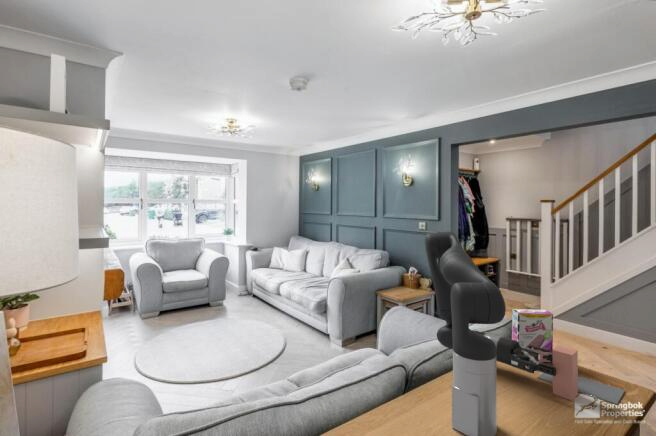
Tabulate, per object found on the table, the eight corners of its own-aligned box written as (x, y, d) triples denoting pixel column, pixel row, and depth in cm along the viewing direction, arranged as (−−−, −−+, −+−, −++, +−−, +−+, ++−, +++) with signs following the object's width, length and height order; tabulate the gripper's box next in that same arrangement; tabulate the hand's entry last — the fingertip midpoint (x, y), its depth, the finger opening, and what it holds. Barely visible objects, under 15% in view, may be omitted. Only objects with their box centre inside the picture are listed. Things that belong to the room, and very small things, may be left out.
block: (572, 400, 86) (572, 355, 86) (552, 393, 90) (552, 349, 89) (577, 394, 89) (577, 350, 89) (558, 388, 92) (558, 345, 92)
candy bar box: (518, 362, 109) (517, 312, 109) (511, 355, 114) (511, 308, 114) (554, 363, 108) (553, 313, 108) (545, 356, 113) (545, 308, 113)
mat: (616, 404, 84) (616, 403, 84) (537, 378, 98) (537, 377, 98) (625, 391, 90) (625, 390, 90) (549, 368, 104) (549, 367, 104)
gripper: (489, 342, 98) (552, 361, 85) (509, 331, 107) (569, 346, 94) (489, 367, 98) (552, 389, 85) (509, 354, 107) (569, 372, 94)
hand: (561, 367), depth 90 cm, fingers open, 8 cm apart
